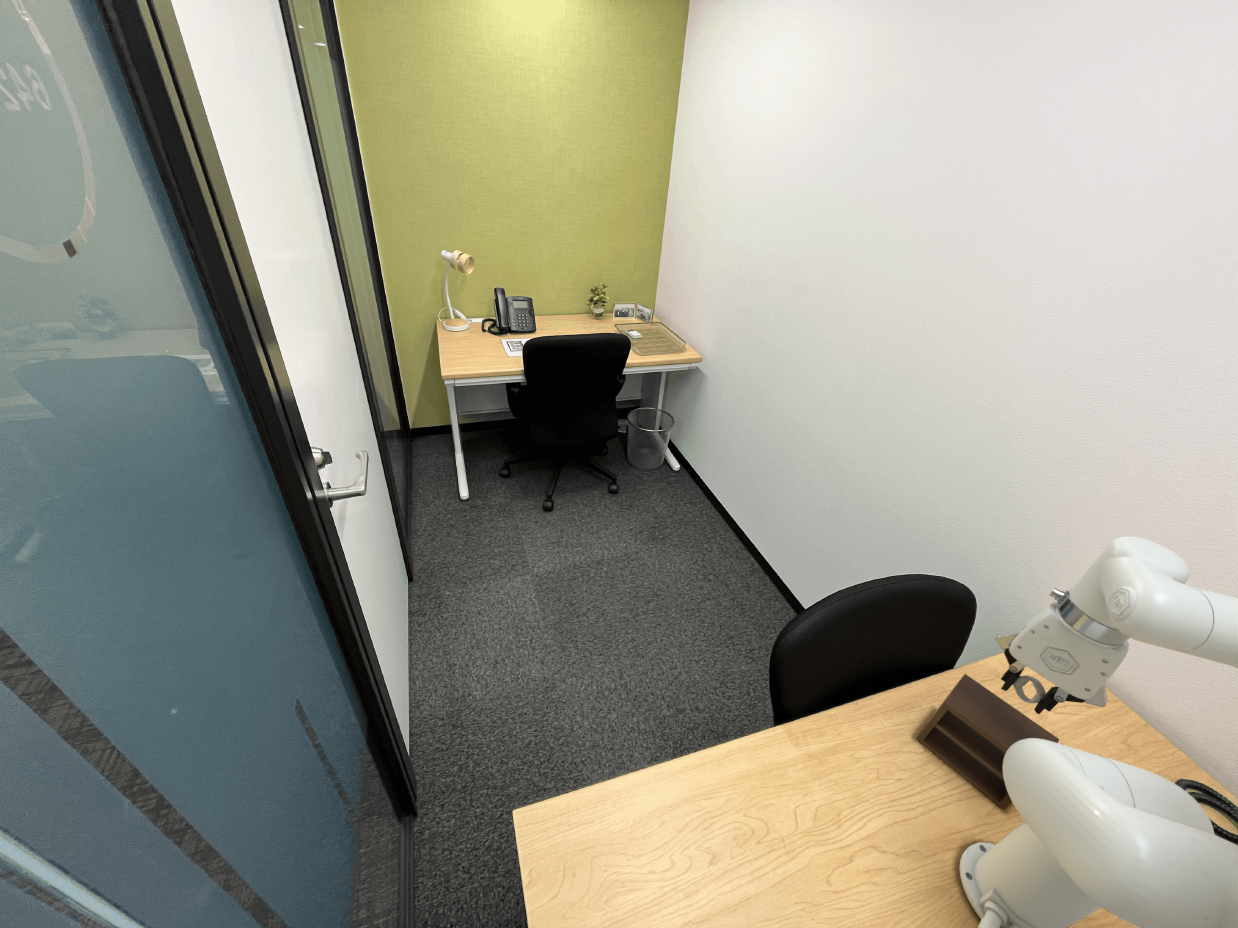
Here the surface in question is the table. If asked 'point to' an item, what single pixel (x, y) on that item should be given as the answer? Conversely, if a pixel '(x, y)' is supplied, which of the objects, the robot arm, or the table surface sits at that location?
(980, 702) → the rack
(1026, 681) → the grey ring
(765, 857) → the table surface
